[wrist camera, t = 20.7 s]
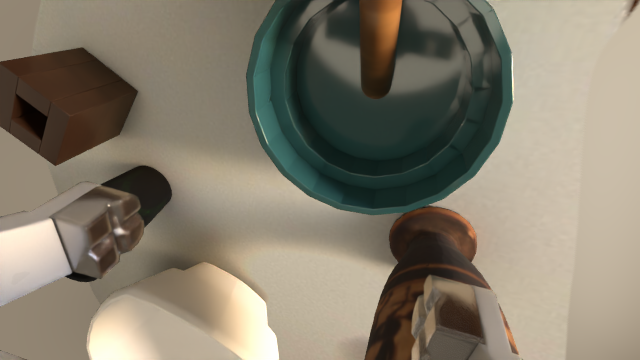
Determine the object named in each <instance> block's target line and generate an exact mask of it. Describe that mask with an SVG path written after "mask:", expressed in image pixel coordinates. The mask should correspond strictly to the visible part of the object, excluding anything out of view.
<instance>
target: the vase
mask: <svg viewBox="0 0 640 360" xmlns="http://www.w3.org/2000/svg"><path fill="white" fill-rule="evenodd" d="M389 241H390V248H391V251H392V253H393V256H394V257H395V258H396V260H397V261H398V264H397V265H396V266H395V268H394V269H393V271H392V273H391V274H390V276H389V278H388V280H387V282H386V284H385V286H384V289H383V291H382V294H381V296H380V300H379V303H378V306H377V309H376V312H375V316H374V321H373V325H372V329H371V332H370V337H369V342H368V346H367V351H366V355H365V360H412V355H411V350H412V347H413V345H414V343H415V341H416V339H415V338H414V336H413V335H412V316H413V311H414V307H415V304H416V301H417V299H418V296H420V295H422V294H424V283H425V281H426V279H427V277H428V276H429V275H434V276H438V277H442V278H445V279H449V280H453V281H457V282H461V283H465V284H468V285H473V286H477V287H481V288H485V289H489V290H491V288H490V286H489V285H488V283H487V282H486V280H485V279H484V277H483V276H482V274H481V273H480V272H479V271H478V270H477V269H476V268H475V266H474V265H473V264H472V263H471V261H472V260H473V258H474V256H475V254H476V248H477V241H476V234H475V231H474V230H473V228H472V226H471V225H470V223H469V222H468V221H467V220H466V219H464V218H463V217H462V216H460V215H459V214H457V213H455V212H453V211H450V210H448V209H443V208H439V207H427V208H421V209H416V210H413V211H410V212H409V213H406V214H404V215H403V216H402V218H401V219H398V220H397V221H396V222H395V223H394V225H393V227H392V229H391V230H390V235H389ZM498 304H499V303H498ZM499 308H500V306H499ZM500 312H501V315H502V319H503V322H504V326H505V329H506V333H507V337H508V340H509V344H510V347H511V351H512V353H514V354H517V355H519V353H518V351H517V348H516V345H515V342H514V339H513V336H512V333H511V331H510V328H509V326H508V323H507V321H506V319H505V317H504V314H503V312H502V310H501V308H500Z"/></svg>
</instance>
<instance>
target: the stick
mask: <svg viewBox="0 0 640 360" xmlns="http://www.w3.org/2000/svg"><path fill="white" fill-rule="evenodd" d="M401 7H402V0H359V13H360V64H361V88H362V91H363V93H364V94H365V95H366V96H367V97H369V98H371V99H380V98H383V97H384V96H386V95H387V94H388V93H389V91H390V89H391V86H392V79H393V71H394V63H395V55H396V47H397V39H398V31H399V23H400V15H401Z"/></svg>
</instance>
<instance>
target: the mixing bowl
mask: <svg viewBox="0 0 640 360" xmlns="http://www.w3.org/2000/svg"><path fill="white" fill-rule="evenodd" d="M246 80H247V94H248V107H249V114H250V117H251V120H252V122H253V125H254V128H255V130H256V133H257V136H258V138H259V141H260V144H261V146H262V148H263V149H264V150H265V152H266V153H267V155H268V156H269V157H270V159H271V160H272V161H273V163H274V164H275V166H276V167H277V168H278V170H279V171H280V172H281V174H282V175H283V176H285V177H286V178H287V179H288V180H289V181H291V182H292V183H293V184H294V185H296V186H297V187H298V188H299V189H301V190H302V191H303V192H304V193H306V194H307V195H308V196H310V197H312V198H314V199H317V200H319V201H321V202H323V203H325V204H328V205H330V206H332V207H334V208H337V209H340V210H345V211H351V212H356V213H362V214H368V215H382V214H393V213H404V212H410V211H413V210H415V209H418V208H421V207H423V206H426V205H429V204H431V203H434V202H437V201H440V200H442V199H444V198H445V197H447V196H448V195H449V194H451V193H452V192H453V191H455V190H456V189H458V188H459V187H460V186H462V185H463V184H464V183H466V182H467V181H468V180H470V179H471V178H473V177H474V176H475V175H476V174H477V172H478V171H479V170H480V168H481V167H482V165H483V164H484V163H485V161H486V160H487V159H488V157H489V156H490V155H491V153H492V152H493V151H494V149H495V148H496V147H497V145H498V144H499V142H500V140H501V137H502V134H503V131H504V128H505V125H506V122H507V119H508V116H509V113H510V110H511V107H512V104H513V62H512V52H511V49H510V47H509V45H508V42H507V40H506V37H505V35H504V32H503V30H502V28H501V25H500V23H499V20H498V18H497V15H496V13H495V11H494V9H493V7H492V6H491V5H490V4H489V3H488V2H487V1H486V0H402V7H401V15H400V23H399V31H398V39H397V47H396V55H395V63H394V71H393V79H392V86H391V89H390V91H389V93H388V94H387V95H386V96H384V97H383V98H380V99H371V98H369V97H367V96H366V95H365V94H364V93H363V91H362V88H361V64H360V13H359V0H276V1H275V2H274V4H273V6H272V8H271V9H270V11H269V13H268V14H267V16H266V18H265V19H264V21H263V23H262V24H261V26H260V28H259V29H258V31H257V33H256V34H255V38H254V42H253V47H252V51H251V55H250V60H249V64H248V69H247V73H246Z"/></svg>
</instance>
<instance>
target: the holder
mask: <svg viewBox="0 0 640 360" xmlns="http://www.w3.org/2000/svg"><path fill="white" fill-rule="evenodd" d="M136 94H137V90H135V89H134V88H133V87H132V86H130V85H129V84H128V83H127V82H125V81H124V80H123V79H122V78H120V77H119V76H118V75H117V74H115V73H114V72H113V71H112V70H110V69H109V68H108V67H106V66H105V65H104V64H103V63H101V62H100V61H99V60H98V59H96V58H95V57H94V56H93V55H91V54H90V53H89V52H88V51H86V50H85V49H84V48H76V49H71V50H65V51H59V52H53V53H47V54H42V55H36V56H30V57H24V58H19V59H13V60H7V61H1V62H0V127H2V128H3V129H5V130H6V131H8V132H9V133H10V134H12V135H13V136H14V137H16V138H17V139H19V140H20V141H21V142H23V143H24V144H26V145H27V146H28V147H30V148H31V149H32V150H34V151H35V152H37V153H38V154H40V155H41V156H42V157H44V158H45V159H46V160H48V161H49V162H51V163H52V164H53V165H55V166H57V165H59V164H61V163H63V162H65V161H67V160H69V159H71V158H73V157H75V156H77V155H79V154H81V153H83V152H85V151H87V150H89V149H91V148H93V147H95V146H97V145H99V144H101V143H103V142H105V141H108V140H110V139H112V138H114V137H116V136H118V135H119V134H120V132H121V130H122V127H123V125H124V123H125V120H126V118H127V115H128V113H129V111H130V108H131V106H132V103H133V101H134V99H135V96H136Z"/></svg>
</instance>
